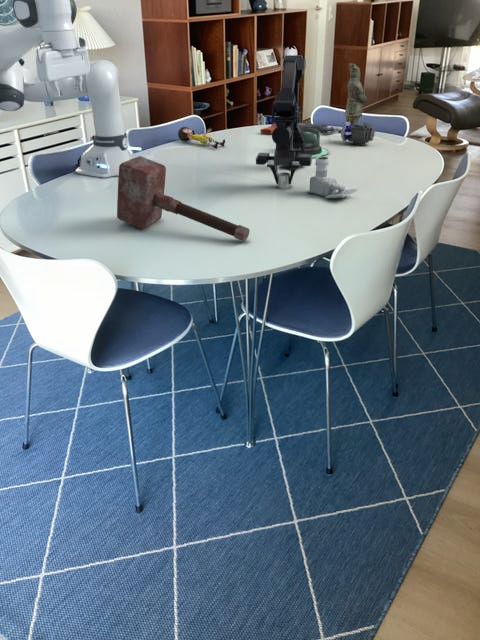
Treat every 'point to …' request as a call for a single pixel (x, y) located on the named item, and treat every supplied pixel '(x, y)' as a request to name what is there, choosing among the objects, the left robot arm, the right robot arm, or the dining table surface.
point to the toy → (357, 133)
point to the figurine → (197, 137)
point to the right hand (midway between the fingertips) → (283, 184)
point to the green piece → (312, 142)
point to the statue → (354, 96)
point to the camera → (326, 182)
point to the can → (283, 180)
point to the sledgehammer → (158, 199)
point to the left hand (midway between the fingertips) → (68, 94)
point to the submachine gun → (301, 125)
